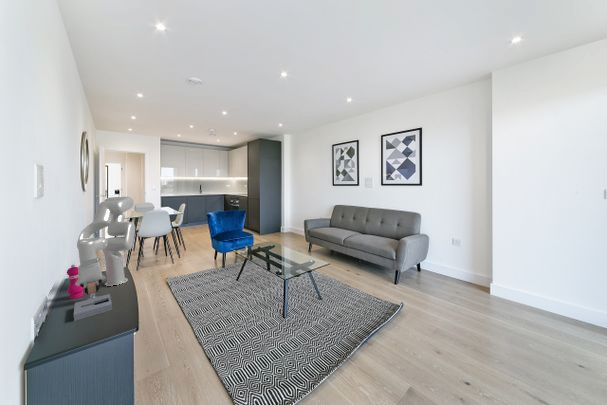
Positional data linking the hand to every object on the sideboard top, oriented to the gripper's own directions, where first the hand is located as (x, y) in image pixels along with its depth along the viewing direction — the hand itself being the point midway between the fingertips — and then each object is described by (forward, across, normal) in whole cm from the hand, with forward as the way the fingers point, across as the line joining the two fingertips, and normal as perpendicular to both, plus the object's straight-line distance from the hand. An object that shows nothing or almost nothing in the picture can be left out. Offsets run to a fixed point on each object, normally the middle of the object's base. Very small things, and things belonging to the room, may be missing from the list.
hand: (92, 292), depth 144 cm
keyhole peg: (+5, 0, 0) cm, 5 cm away
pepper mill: (+5, +8, -14) cm, 17 cm away
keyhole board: (+5, 0, +14) cm, 15 cm away
